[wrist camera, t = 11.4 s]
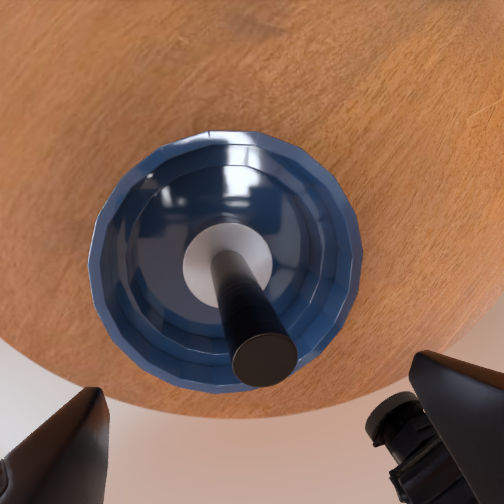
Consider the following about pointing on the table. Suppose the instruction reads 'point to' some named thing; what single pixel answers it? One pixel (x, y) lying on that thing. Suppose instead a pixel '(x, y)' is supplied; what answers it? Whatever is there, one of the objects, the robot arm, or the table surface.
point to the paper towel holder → (240, 298)
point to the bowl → (199, 211)
